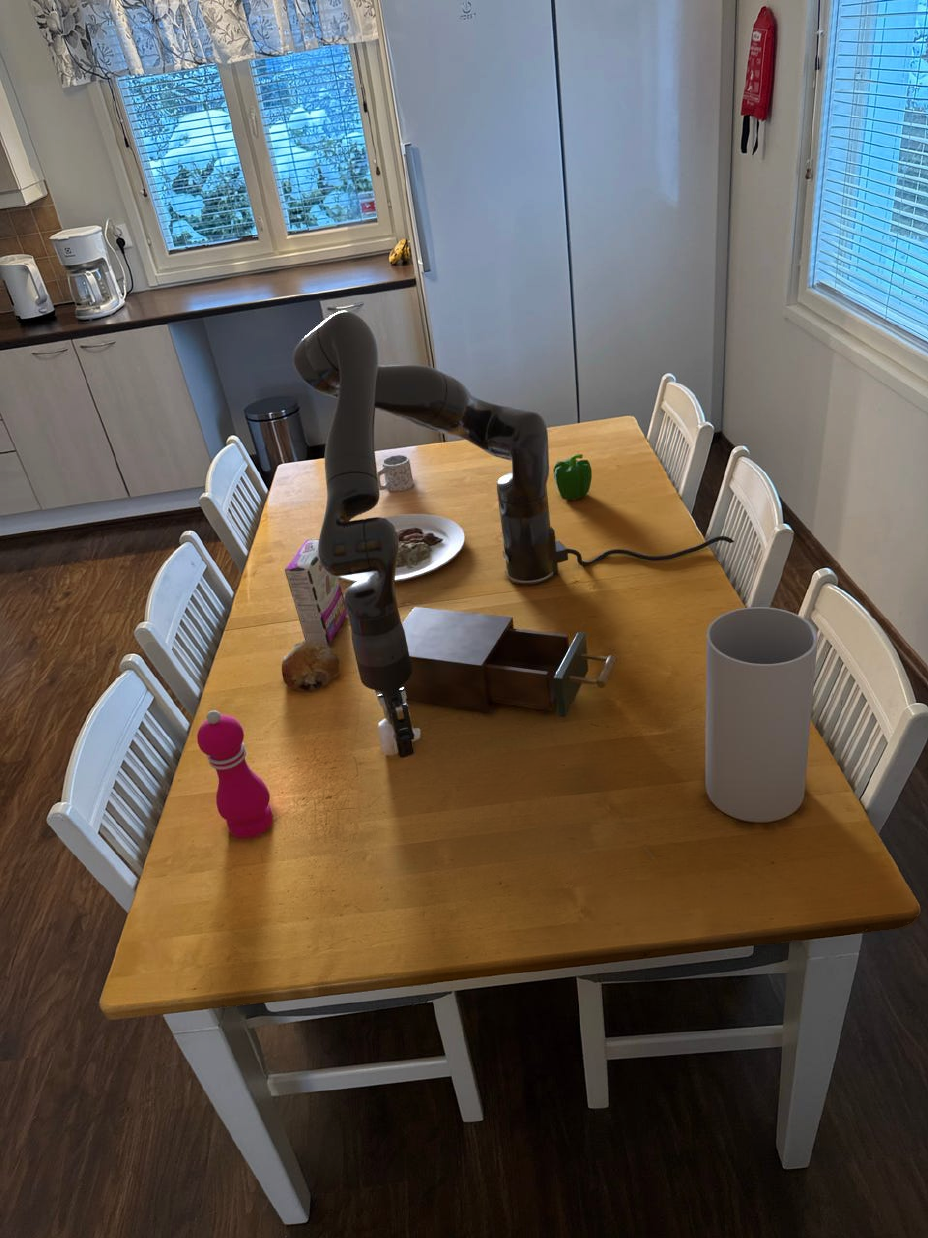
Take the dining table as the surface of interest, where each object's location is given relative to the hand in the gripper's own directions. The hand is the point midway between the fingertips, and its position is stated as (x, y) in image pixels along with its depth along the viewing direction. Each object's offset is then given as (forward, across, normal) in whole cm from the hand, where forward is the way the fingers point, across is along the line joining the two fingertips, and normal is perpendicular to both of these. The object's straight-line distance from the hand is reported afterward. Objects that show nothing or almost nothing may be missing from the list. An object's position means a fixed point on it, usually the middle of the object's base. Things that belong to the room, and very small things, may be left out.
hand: (400, 738), depth 137 cm
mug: (+2, +97, -22) cm, 99 cm away
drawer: (+1, +3, -24) cm, 25 cm away
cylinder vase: (+2, -30, -41) cm, 51 cm away
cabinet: (+2, +13, -12) cm, 18 cm away
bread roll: (+2, +26, +10) cm, 28 cm away
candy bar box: (+2, +40, +5) cm, 40 cm away
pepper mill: (+2, -6, +24) cm, 25 cm away
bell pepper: (+2, +68, -57) cm, 89 cm away
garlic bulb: (+2, 0, 0) cm, 2 cm away
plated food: (+2, +63, -14) cm, 65 cm away
